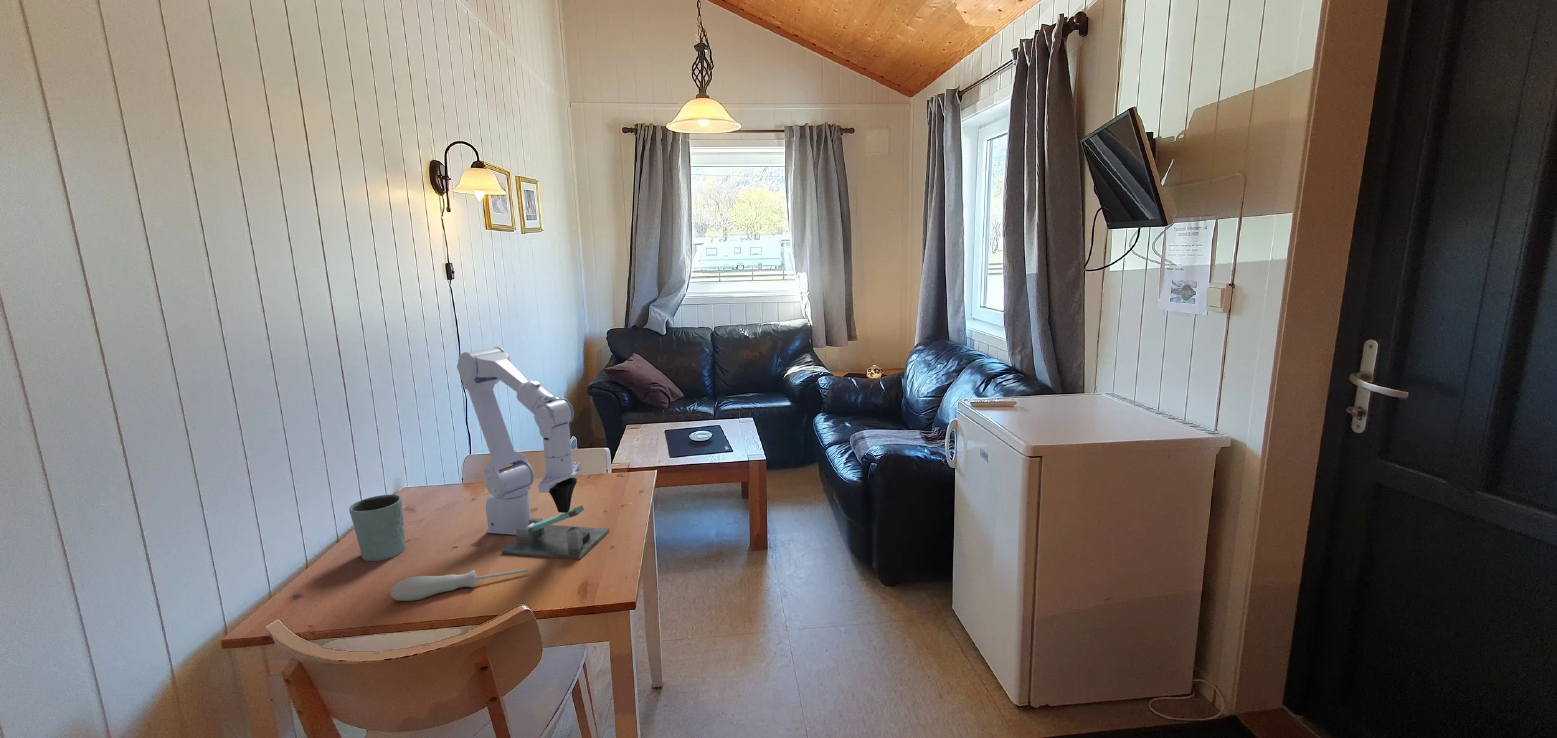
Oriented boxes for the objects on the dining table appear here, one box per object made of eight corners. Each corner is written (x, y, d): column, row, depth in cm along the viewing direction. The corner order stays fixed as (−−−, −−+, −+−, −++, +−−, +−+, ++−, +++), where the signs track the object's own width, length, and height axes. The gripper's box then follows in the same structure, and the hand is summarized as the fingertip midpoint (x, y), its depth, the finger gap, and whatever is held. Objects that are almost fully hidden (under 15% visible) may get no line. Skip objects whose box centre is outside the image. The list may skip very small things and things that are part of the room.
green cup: (381, 565, 139) (372, 513, 137) (345, 560, 142) (337, 509, 140) (419, 544, 149) (412, 495, 146) (385, 540, 152) (378, 492, 149)
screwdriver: (531, 585, 132) (530, 568, 131) (390, 609, 122) (388, 591, 121) (529, 570, 136) (529, 554, 135) (394, 592, 126) (391, 575, 125)
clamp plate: (501, 553, 143) (498, 530, 142) (537, 527, 156) (534, 505, 155) (579, 559, 139) (577, 535, 138) (609, 531, 152) (607, 509, 151)
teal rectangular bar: (525, 535, 147) (522, 529, 147) (532, 529, 150) (529, 523, 150) (577, 515, 143) (574, 509, 143) (584, 510, 146) (581, 504, 146)
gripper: (557, 465, 135) (563, 525, 138) (590, 444, 149) (595, 499, 152) (527, 464, 137) (533, 523, 139) (562, 443, 151) (568, 498, 153)
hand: (563, 511), depth 145 cm, fingers closed
